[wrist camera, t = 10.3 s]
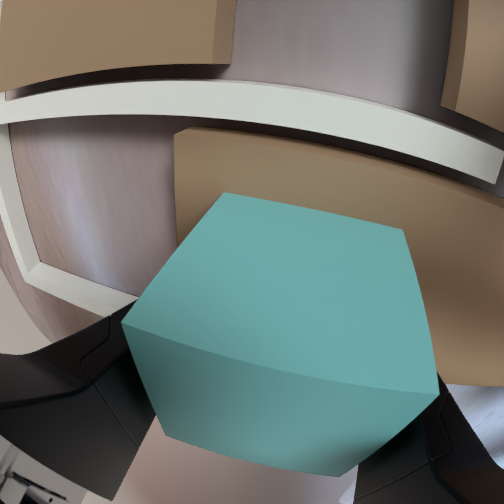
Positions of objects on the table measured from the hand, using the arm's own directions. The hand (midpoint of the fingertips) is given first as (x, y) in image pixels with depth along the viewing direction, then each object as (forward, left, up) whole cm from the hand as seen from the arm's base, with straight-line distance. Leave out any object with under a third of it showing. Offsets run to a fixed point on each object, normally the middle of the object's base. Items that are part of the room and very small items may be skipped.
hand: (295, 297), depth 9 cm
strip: (0, -7, -2) cm, 7 cm away
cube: (0, 0, -1) cm, 1 cm away
